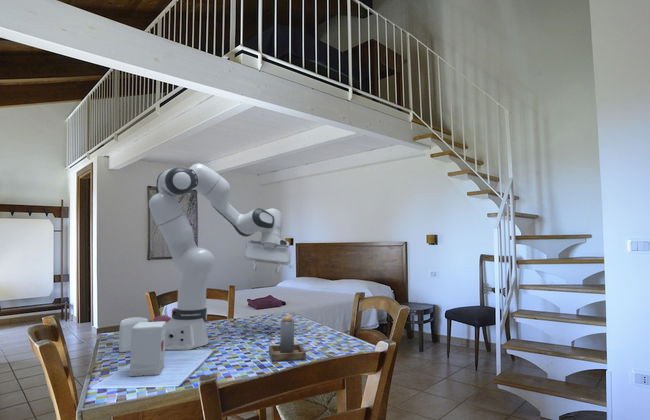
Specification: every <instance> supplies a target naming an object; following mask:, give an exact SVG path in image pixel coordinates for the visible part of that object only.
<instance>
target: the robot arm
mask: <svg viewBox="0 0 650 420" xmlns="http://www.w3.org/2000/svg"><path fill="white" fill-rule="evenodd" d="M155 188H156V194H154V195H152V197H151V198H150V199H149V201H148V207H149V209H150V212H151V215H152V217H153V220H154V222H155V224H156V226H157V229H159V231H160V233H161V235H162V237H163V238H164V240H165V243H166V244H167V247H168V250H169V253H170V256H171V258H172V262H173V266H174V267H175V269H177V270H178V271H180V272H181V273H182V278H181V281H180V285H179V287H178V289H177V307H174V308H172V310H171V320H169V321H168V322H167V323H166V331H165V351H167V350H169V351H172V350H174V351H175V350H177V351H181V350H182V351H183V350H184V351H185V350H186V351H188V350H193V349H195V348H199V347H202V346H205V345H208V344H209V342H210V341H209V337H208V332H207V331H208V329H207V318H208V309H207V288H208V284H209V280H210V279H209V278H210V275H211V271H212V270H213V269H214V266H215V263H216V262H215V261H216V259H215V257H214V256H215V255H214V254H213V253H212V252H211V251H210V250H208V249H206V248H205V247H200V246H199V247H198V245H197V244H196V241H195V238H194V234H193V231H194V230H193V228H192V227H191V224H190V222H189V220H188V218H187V217H186V215H185V213H184V211H183V209H182V207H181V205H180V202H179V198H180V196H183V195H186V194H188V193H189V192H191V191H192V190H195V191H197V192H198V193H199V194H201V195H202V196H203V197H205V198H206V199H207V200H208V201H209V202H210V204H211V206H212V208H214V210H215V211H217V212H218V214H219V215H221V216H222V217H223V218H225V220H226V221H228V222H229V223H230V225H231V226H232V227H233V228H234V229H235V231H236V232H237V233H238V234H239V235H241V237H245V238H246V237H250V236H252V235H254V234H255V233H258V232H260V233H261V236H260V241H259V240H251V239H250V240H248V241H247V242H246V245H245V248H246V249H245V255H244V259H245V260H246V261H249V262H251V263H252V266H253V271H254V272H257V271H258V266H257V265H256V262H257V263H266V264H274V265H278V267H277V268H275V269H274V274H279V271H280V269H281V268H282V266H289V265H290V263H291V255H292V254H291V249H290V242H289V241H287V240H285V239H282V237H281V232H282V228H283V220H284V219H283V214H282V212H281V211H280V210H279V209H277V208H272V207H271V208H268V209H263V208H262V207H260V208H258V207H257V208H256V209H255V208H254V209H253V210H251V211H249V212H247V213H244V214H243V213H240V212H239V211H238V210H237V209H235V207H234V206H233V205H231V204H230V203H229V200H228V199H229V197H230V194H231V186H230V183H229V182H228V180H227V179H226V178H224V177H223V176H221V175H220V174H219V173H218V172H217V171H215V170H213V169H212V168H210V167H209V166H206V165H205V164H202V163H199V162H198V163H194V164H192V165H191V166H190V167H189V168H185V167H173V168H172V167H171V168H168V169H166V170H164V171H163V172H161V173H159V174H158V177H157V178H156V187H155Z"/></svg>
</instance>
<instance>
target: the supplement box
mask: <svg viewBox="0 0 650 420" xmlns="http://www.w3.org/2000/svg"><path fill="white" fill-rule="evenodd" d="M165 331H166V321H160V322H152V321H148V322H139V323H138V324H136V325H135V326H134V327H133V328H132V337H131V351H130V361H129V363H130V364H129V377H143V375H144V376H159V375H160V374H161V373H162V370H163V369H164V368H165V353H166V350H165ZM158 374H159V375H158Z"/></svg>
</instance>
